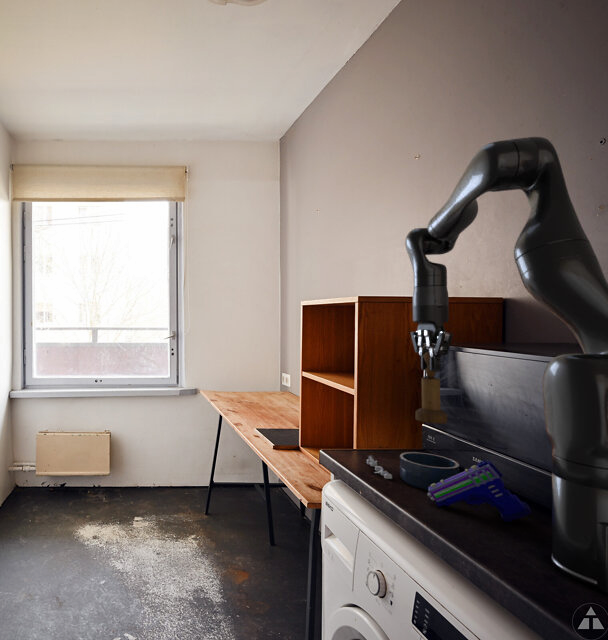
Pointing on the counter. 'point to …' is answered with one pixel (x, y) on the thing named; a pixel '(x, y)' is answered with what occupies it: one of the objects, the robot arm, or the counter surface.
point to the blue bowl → (426, 469)
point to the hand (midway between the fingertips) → (430, 370)
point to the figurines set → (378, 468)
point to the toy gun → (479, 491)
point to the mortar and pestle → (430, 398)
